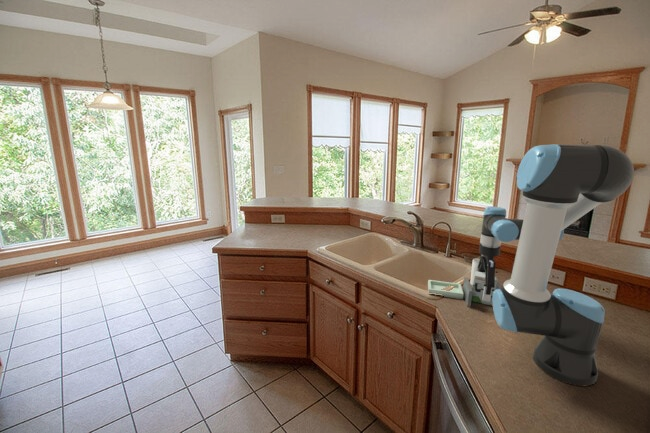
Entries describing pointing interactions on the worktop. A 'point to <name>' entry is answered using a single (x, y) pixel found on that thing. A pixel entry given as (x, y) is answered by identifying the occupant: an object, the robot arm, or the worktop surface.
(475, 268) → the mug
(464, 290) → the bay
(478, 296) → the ink box
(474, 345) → the worktop surface
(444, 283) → the tray
